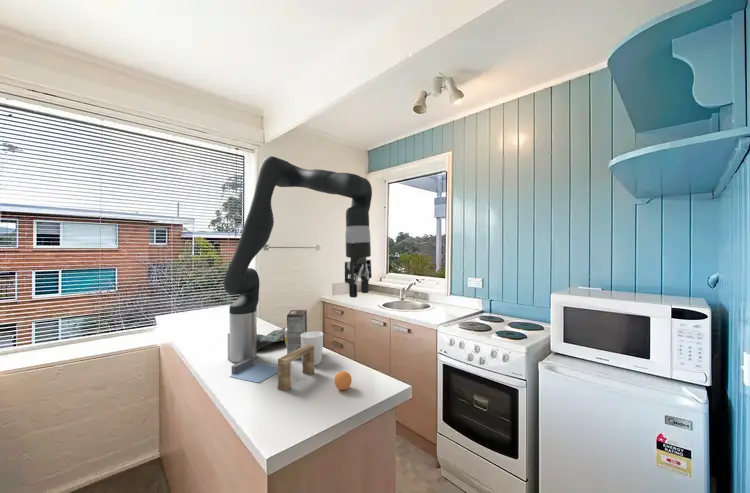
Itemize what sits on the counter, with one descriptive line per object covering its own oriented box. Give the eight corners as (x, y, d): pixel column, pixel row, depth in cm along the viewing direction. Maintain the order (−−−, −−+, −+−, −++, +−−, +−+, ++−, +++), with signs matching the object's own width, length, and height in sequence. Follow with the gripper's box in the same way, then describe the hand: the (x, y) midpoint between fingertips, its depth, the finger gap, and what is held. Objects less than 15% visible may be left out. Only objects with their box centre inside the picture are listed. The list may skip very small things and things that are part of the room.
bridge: (278, 389, 87) (277, 359, 87) (306, 370, 100) (306, 344, 100) (286, 391, 86) (286, 360, 86) (314, 372, 99) (313, 345, 99)
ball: (331, 391, 86) (330, 373, 86) (339, 383, 91) (339, 367, 91) (346, 394, 84) (346, 376, 84) (354, 386, 89) (354, 369, 89)
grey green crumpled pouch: (254, 354, 116) (311, 339, 133) (253, 336, 116) (310, 322, 133) (241, 349, 125) (296, 335, 143) (240, 332, 126) (295, 320, 143)
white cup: (318, 367, 103) (318, 338, 103) (296, 365, 105) (296, 336, 105) (326, 359, 111) (326, 331, 111) (306, 357, 112) (306, 330, 112)
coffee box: (291, 350, 120) (290, 309, 120) (307, 349, 121) (307, 309, 121) (286, 358, 111) (286, 314, 111) (304, 358, 112) (303, 314, 112)
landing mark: (229, 376, 96) (229, 376, 96) (257, 363, 107) (257, 362, 107) (258, 383, 91) (258, 382, 91) (284, 368, 102) (284, 367, 102)
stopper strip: (231, 373, 98) (231, 366, 98) (250, 364, 106) (250, 357, 106) (235, 374, 98) (235, 366, 98) (253, 365, 105) (253, 358, 105)
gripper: (356, 242, 100) (358, 291, 100) (335, 241, 86) (337, 298, 86) (378, 241, 97) (379, 292, 97) (359, 240, 84) (361, 299, 84)
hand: (359, 295), depth 92 cm, fingers open, 8 cm apart
